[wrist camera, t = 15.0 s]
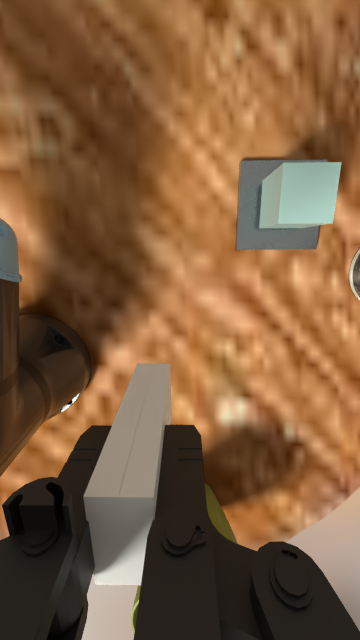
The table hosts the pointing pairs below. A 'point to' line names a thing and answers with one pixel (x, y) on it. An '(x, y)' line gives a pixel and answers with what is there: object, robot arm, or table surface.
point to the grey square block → (250, 208)
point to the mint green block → (300, 195)
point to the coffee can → (355, 275)
